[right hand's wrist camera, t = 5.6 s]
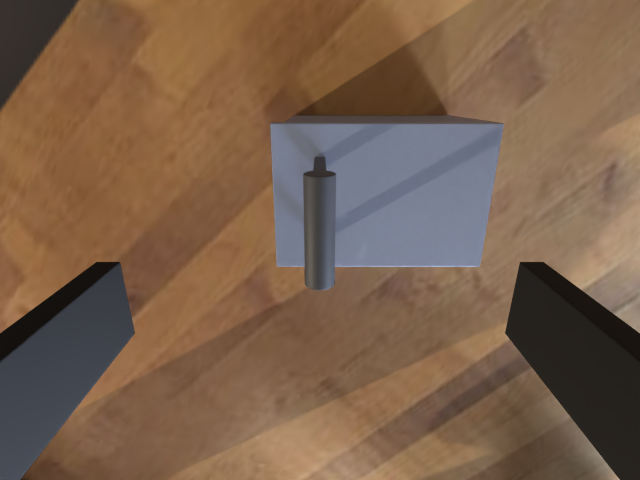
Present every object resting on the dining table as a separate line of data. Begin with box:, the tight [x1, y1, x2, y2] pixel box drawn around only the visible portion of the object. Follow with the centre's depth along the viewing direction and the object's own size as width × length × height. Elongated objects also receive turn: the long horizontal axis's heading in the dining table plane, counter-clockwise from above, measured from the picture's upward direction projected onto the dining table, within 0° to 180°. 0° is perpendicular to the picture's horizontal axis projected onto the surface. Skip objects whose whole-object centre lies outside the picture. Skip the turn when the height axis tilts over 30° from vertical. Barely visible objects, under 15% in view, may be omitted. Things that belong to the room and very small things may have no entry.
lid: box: [270, 122, 504, 290], centre depth 22 cm, size 14×10×8 cm
